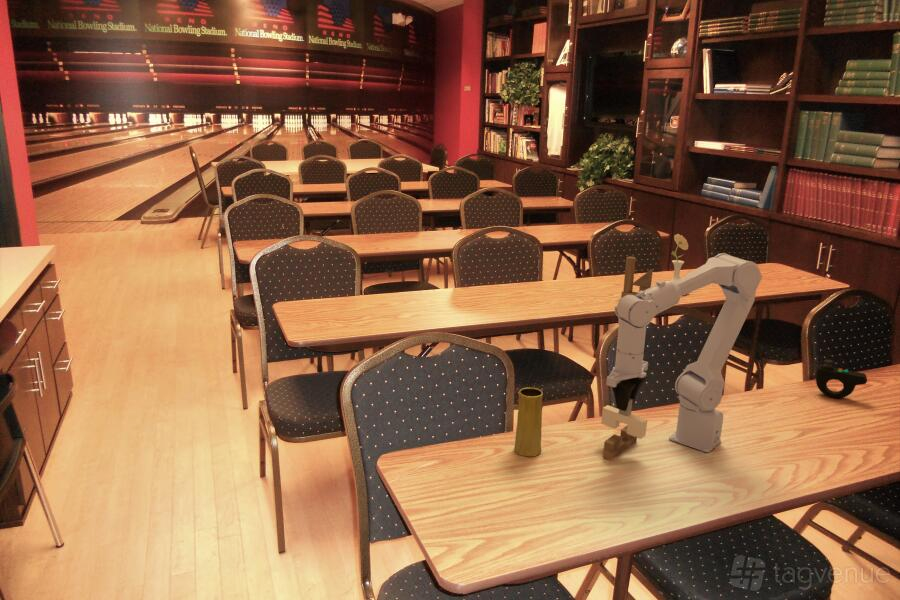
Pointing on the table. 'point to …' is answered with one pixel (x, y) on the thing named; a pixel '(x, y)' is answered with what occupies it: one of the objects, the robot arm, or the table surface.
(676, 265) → the flower in vase
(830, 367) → the controller
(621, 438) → the walnut slotted plate
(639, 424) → the burr puzzle piece
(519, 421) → the vase
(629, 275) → the wooden block
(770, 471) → the table surface
